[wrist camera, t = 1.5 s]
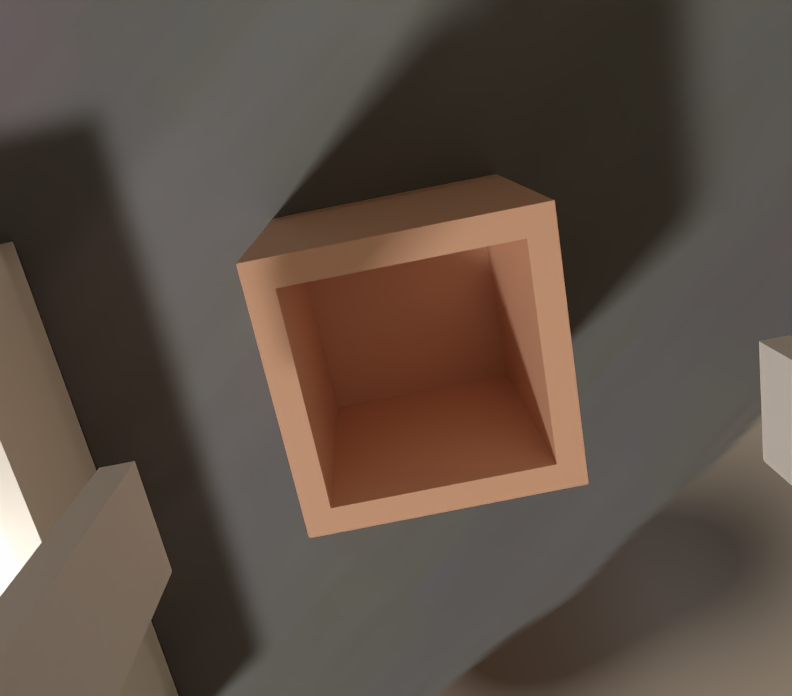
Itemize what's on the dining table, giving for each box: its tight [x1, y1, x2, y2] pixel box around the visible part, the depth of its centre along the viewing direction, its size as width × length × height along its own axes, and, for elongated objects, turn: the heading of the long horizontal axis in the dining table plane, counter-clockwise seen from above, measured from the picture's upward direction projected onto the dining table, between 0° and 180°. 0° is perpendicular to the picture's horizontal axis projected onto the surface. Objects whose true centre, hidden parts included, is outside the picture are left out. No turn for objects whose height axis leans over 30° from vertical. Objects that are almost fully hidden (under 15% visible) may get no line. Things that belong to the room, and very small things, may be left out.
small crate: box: [236, 174, 588, 538], centre depth 23 cm, size 8×8×8 cm
